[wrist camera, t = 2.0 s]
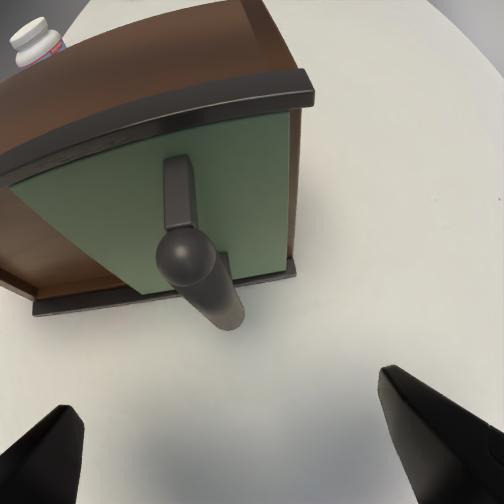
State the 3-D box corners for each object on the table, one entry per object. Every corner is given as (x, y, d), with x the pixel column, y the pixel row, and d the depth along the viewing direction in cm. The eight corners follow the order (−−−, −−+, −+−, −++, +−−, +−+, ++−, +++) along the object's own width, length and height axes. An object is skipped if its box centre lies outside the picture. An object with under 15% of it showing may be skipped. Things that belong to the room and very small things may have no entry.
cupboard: (296, 276, 20) (316, 90, 7) (35, 317, 21) (-112, 242, 8) (272, 173, 24) (259, -12, 10) (43, 225, 24) (-65, 124, 11)
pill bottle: (72, 105, 30) (29, 34, 20) (37, 113, 31) (-5, 52, 21) (92, 73, 33) (58, 6, 22) (57, 82, 33) (23, 23, 23)
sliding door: (298, 331, 18) (330, 237, 7) (146, 353, 18) (-13, 298, 7) (284, 261, 20) (285, 98, 8) (141, 286, 20) (11, 174, 9)
